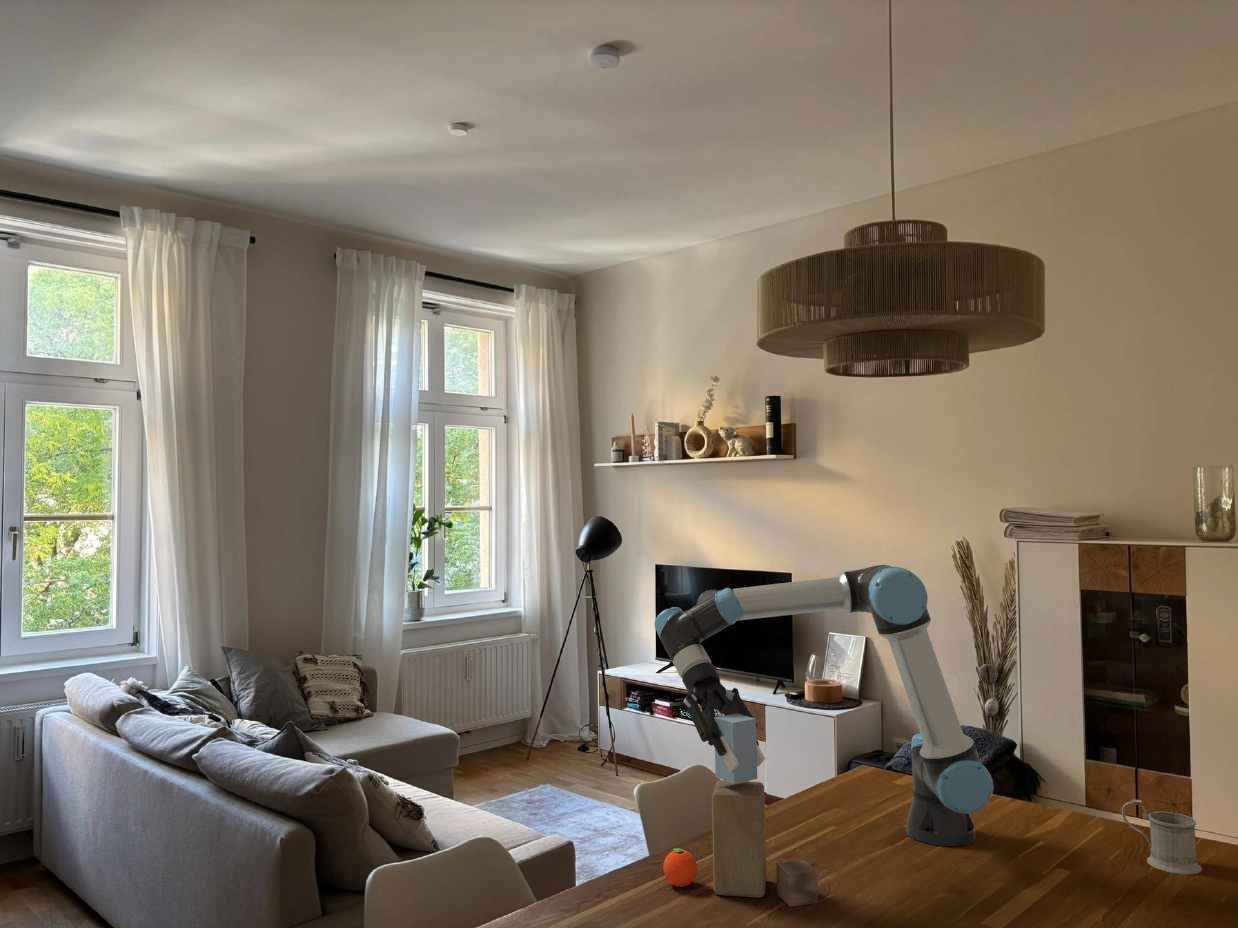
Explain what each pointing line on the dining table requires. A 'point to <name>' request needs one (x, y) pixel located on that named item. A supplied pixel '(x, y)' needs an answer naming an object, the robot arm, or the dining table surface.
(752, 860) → the block
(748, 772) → the slate block
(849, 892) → the dining table surface
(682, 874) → the clementine
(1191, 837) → the mug
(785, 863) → the walnut cube
